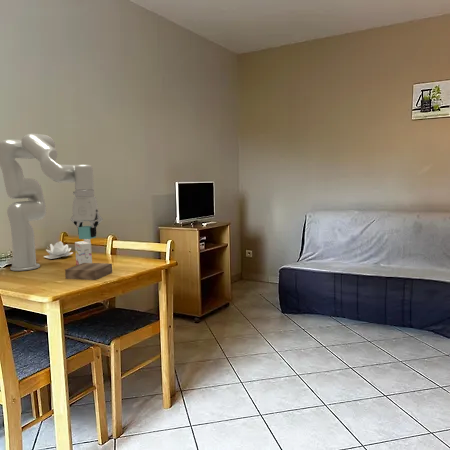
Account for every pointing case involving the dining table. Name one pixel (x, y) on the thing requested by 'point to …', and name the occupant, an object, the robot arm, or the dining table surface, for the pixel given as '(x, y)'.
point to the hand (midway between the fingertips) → (87, 236)
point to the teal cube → (85, 232)
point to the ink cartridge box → (83, 252)
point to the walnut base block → (88, 271)
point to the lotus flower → (58, 250)
